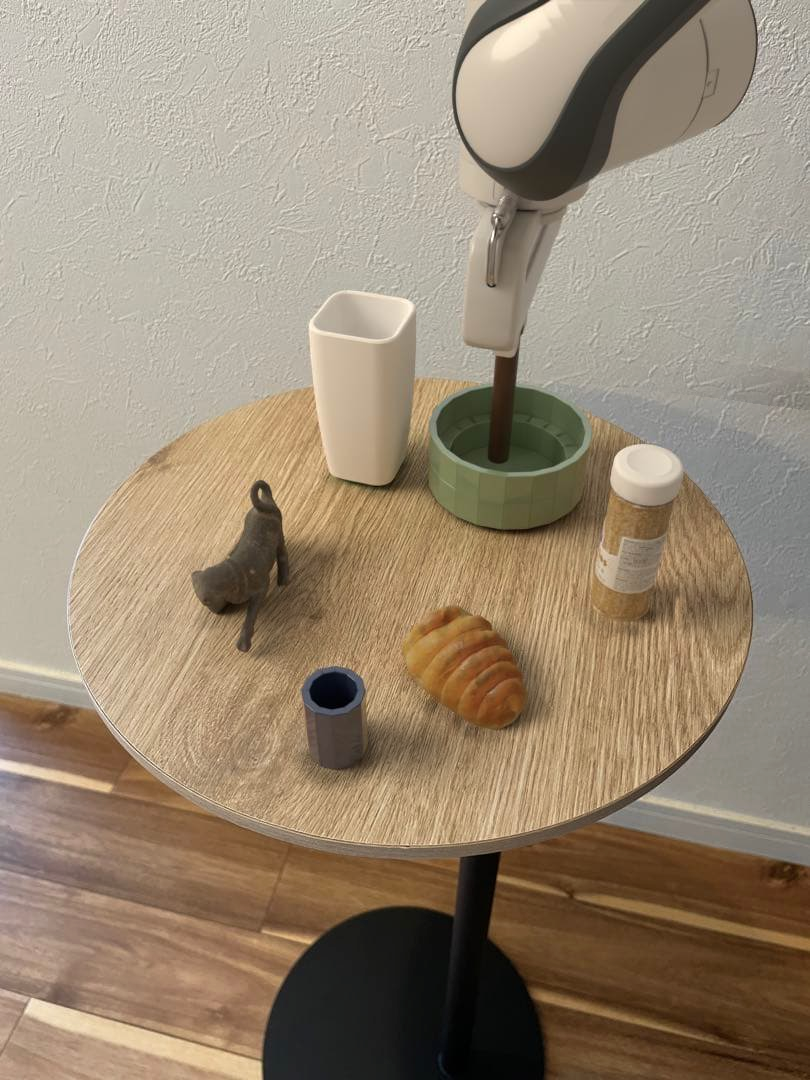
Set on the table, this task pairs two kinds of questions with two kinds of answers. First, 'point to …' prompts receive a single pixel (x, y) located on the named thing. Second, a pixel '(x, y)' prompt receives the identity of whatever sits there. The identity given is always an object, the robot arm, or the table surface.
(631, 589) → the tan spice jar
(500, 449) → the stick
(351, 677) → the holder
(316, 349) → the cup
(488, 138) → the robot arm
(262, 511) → the dog figurine
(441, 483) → the bowl
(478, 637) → the pastry
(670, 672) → the table surface
